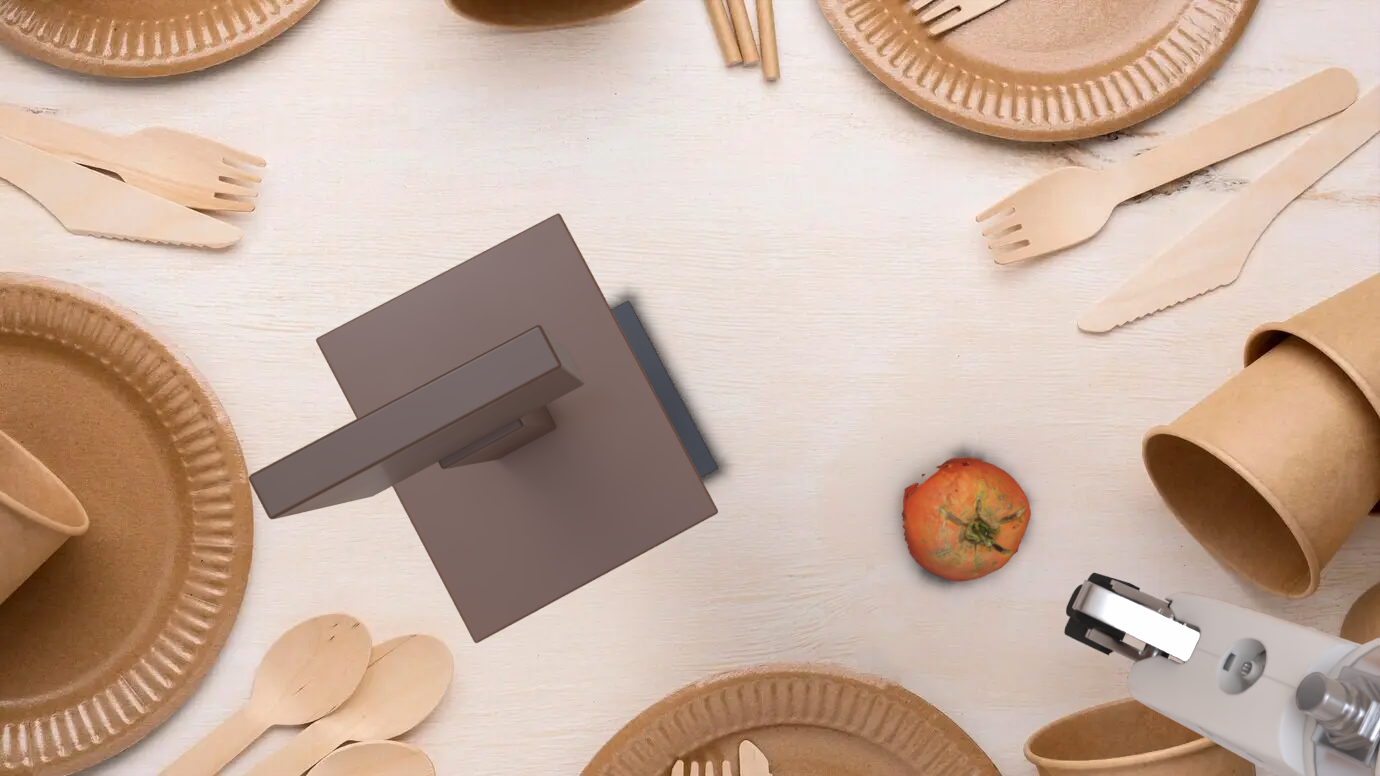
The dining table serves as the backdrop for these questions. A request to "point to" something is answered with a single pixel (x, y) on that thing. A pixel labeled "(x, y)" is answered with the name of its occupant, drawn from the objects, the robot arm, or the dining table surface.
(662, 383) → the stand
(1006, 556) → the tomato
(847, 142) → the dining table surface
